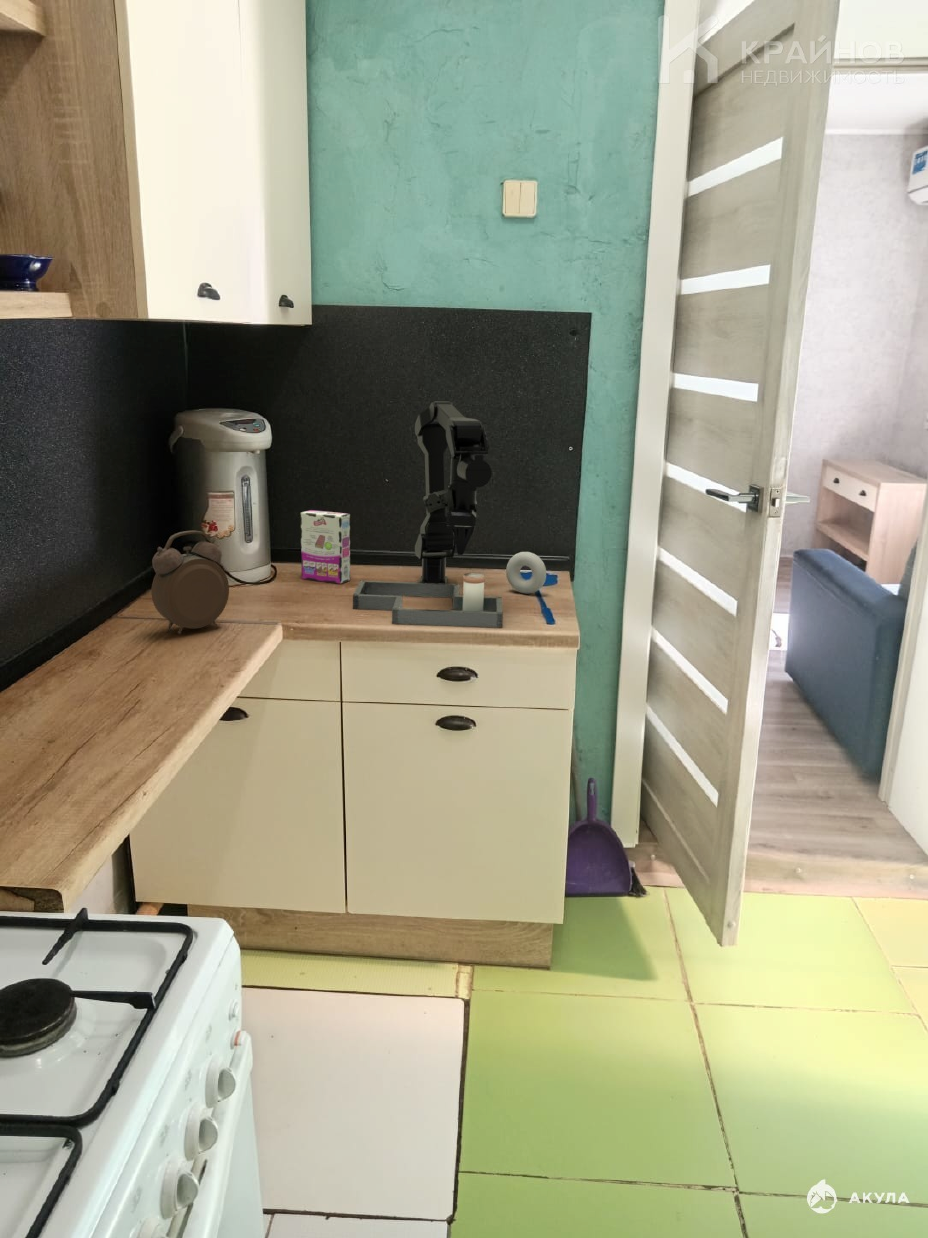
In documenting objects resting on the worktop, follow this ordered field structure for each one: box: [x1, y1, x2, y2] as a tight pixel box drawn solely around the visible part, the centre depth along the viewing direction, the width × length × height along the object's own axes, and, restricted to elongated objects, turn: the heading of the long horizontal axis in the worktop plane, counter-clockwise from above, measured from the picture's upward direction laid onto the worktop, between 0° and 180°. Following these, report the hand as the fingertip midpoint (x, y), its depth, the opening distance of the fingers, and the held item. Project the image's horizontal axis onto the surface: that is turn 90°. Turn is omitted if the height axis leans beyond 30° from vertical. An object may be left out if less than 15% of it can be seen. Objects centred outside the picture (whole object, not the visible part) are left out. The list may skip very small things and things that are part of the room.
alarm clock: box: [150, 530, 230, 635], centre depth 193 cm, size 14×7×20 cm, turn 134°
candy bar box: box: [300, 509, 351, 585], centre depth 236 cm, size 11×5×16 cm, turn 68°
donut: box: [505, 551, 547, 595], centre depth 230 cm, size 10×4×10 cm, turn 64°
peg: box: [462, 572, 486, 612], centre depth 209 cm, size 4×4×9 cm
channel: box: [352, 580, 504, 629], centre depth 215 cm, size 23×32×3 cm
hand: (460, 549), depth 216 cm, fingers open, 9 cm apart
